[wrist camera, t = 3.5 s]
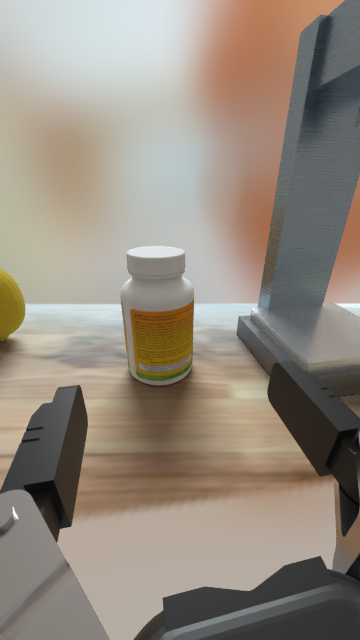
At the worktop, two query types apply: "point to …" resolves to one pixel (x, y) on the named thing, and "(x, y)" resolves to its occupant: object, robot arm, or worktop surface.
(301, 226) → the arbor press
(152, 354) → the supplement bottle
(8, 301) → the lemon
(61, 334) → the worktop surface
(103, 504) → the worktop surface
